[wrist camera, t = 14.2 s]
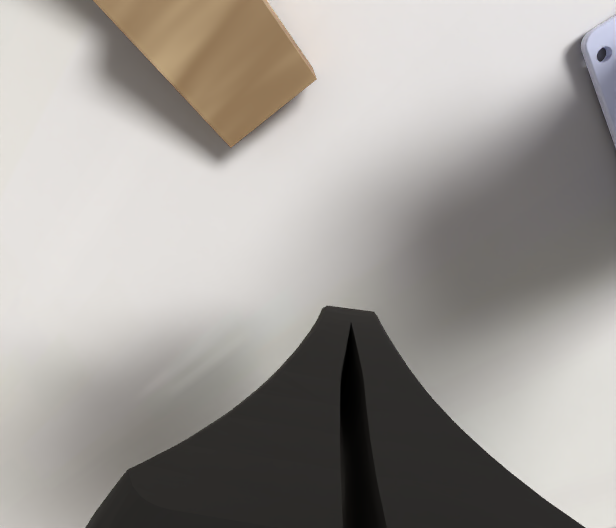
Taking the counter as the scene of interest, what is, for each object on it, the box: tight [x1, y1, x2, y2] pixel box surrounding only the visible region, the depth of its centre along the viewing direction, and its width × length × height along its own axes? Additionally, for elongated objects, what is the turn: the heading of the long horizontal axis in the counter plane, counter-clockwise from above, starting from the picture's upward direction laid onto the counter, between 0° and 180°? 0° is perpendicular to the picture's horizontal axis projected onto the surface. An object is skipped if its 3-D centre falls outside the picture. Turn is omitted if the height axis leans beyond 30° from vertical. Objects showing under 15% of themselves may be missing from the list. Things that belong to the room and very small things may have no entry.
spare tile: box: [93, 0, 316, 148], centre depth 15 cm, size 2×4×7 cm
